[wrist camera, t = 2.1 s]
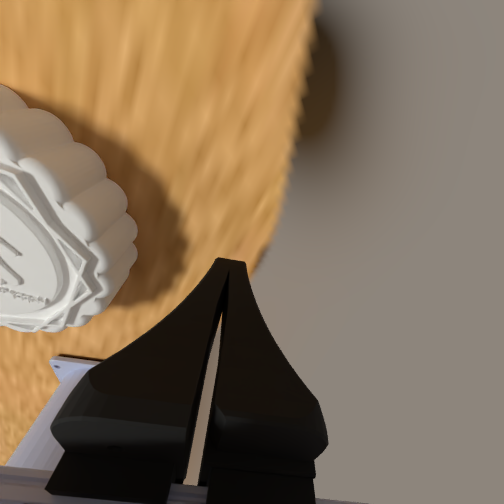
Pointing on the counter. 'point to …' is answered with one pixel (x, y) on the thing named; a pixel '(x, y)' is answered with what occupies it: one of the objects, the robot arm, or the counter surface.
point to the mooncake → (56, 224)
